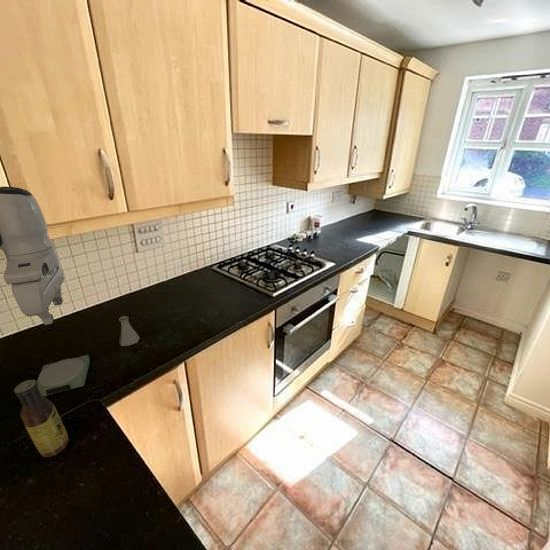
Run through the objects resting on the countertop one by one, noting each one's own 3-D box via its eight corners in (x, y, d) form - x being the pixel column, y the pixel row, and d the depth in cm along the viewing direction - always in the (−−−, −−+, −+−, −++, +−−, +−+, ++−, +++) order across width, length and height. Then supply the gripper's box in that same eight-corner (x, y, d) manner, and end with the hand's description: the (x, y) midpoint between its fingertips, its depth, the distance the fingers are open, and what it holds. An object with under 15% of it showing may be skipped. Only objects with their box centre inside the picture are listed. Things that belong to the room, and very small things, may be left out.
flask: (140, 333, 118) (134, 311, 114) (139, 343, 112) (133, 321, 108) (120, 337, 116) (113, 315, 112) (118, 348, 110) (111, 325, 106)
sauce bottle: (73, 445, 75) (46, 385, 67) (44, 464, 71) (11, 402, 63) (65, 430, 79) (38, 372, 71) (36, 447, 75) (5, 387, 67)
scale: (33, 400, 89) (30, 392, 87) (46, 370, 100) (42, 363, 99) (83, 386, 93) (81, 379, 92) (90, 360, 104) (87, 353, 103)
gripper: (32, 248, 76) (50, 296, 82) (-1, 280, 59) (25, 338, 64) (61, 245, 78) (77, 292, 84) (37, 275, 61) (59, 331, 66)
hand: (54, 312), depth 74 cm, fingers open, 8 cm apart
